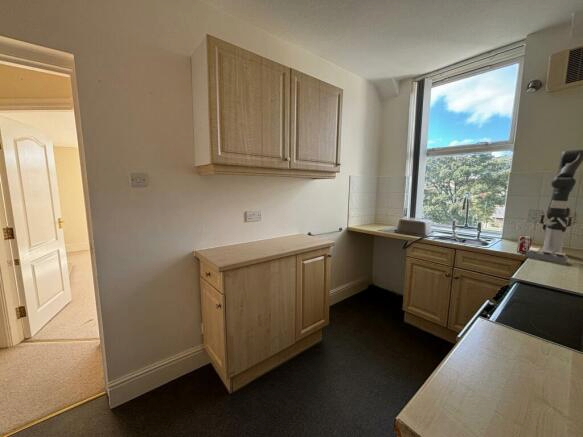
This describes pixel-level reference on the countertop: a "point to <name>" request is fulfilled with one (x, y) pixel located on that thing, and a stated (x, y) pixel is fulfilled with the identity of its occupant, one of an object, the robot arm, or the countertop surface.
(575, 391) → the countertop surface
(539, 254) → the power strip
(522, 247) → the soda can
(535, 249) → the rocker
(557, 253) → the rocker
